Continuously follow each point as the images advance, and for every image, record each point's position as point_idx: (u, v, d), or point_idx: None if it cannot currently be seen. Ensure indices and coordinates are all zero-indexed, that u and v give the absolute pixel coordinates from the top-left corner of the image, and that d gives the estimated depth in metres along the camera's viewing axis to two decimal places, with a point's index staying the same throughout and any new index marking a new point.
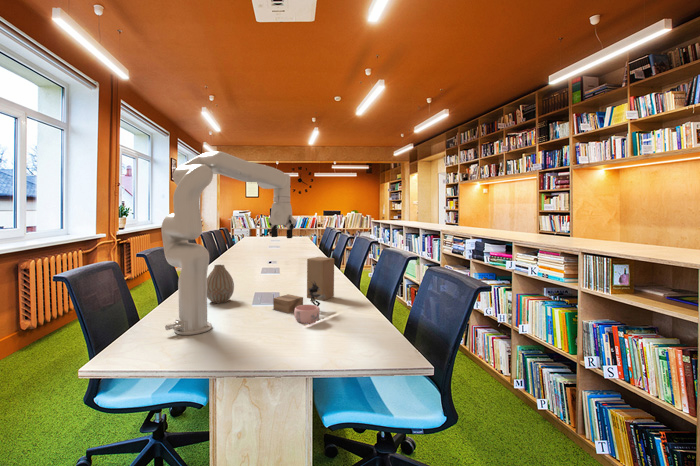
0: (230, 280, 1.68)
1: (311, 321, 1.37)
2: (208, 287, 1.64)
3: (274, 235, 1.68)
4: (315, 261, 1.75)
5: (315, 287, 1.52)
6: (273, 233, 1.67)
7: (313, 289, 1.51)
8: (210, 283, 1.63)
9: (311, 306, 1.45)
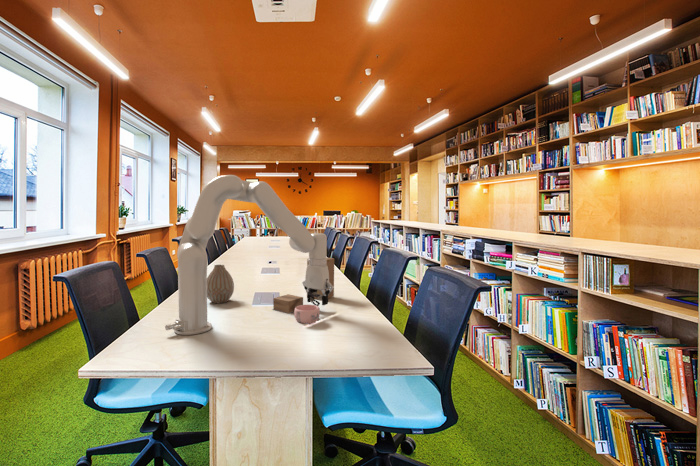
0: (230, 280, 1.68)
1: (311, 321, 1.37)
2: (208, 287, 1.64)
3: None
4: None
5: None
6: (309, 298, 1.54)
7: (313, 289, 1.51)
8: (210, 283, 1.63)
9: (311, 306, 1.45)
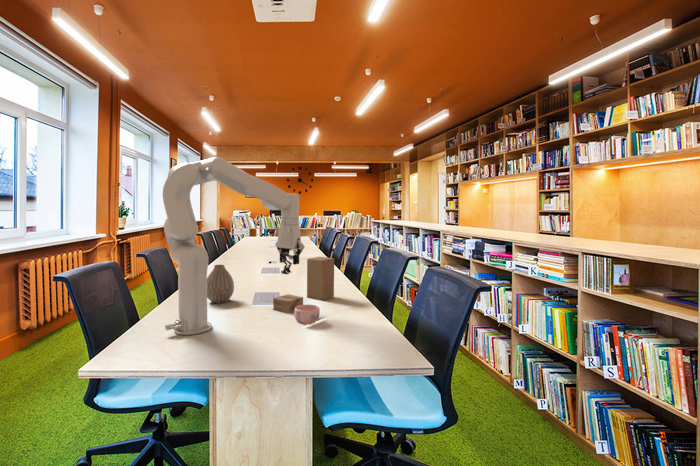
0: (230, 280, 1.68)
1: (311, 321, 1.37)
2: (208, 287, 1.64)
3: None
4: (315, 261, 1.75)
5: None
6: (281, 258, 1.55)
7: (284, 249, 1.53)
8: (210, 283, 1.63)
9: (311, 306, 1.45)
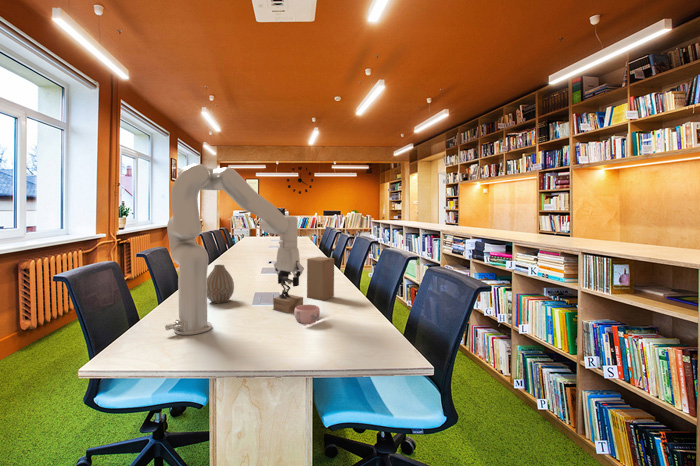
0: (230, 280, 1.68)
1: (311, 321, 1.37)
2: (208, 287, 1.64)
3: None
4: (315, 261, 1.75)
5: (286, 271, 1.55)
6: (280, 279, 1.56)
7: (284, 273, 1.54)
8: (210, 283, 1.63)
9: (311, 306, 1.45)
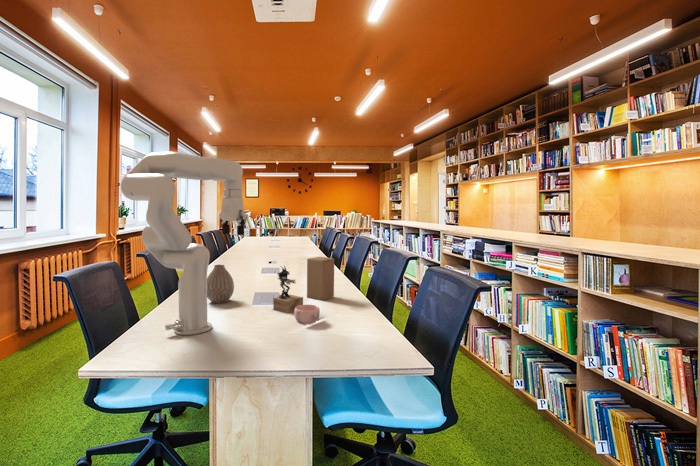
0: (230, 280, 1.68)
1: (311, 321, 1.37)
2: (208, 287, 1.64)
3: (225, 232, 1.55)
4: (315, 261, 1.75)
5: (284, 272, 1.54)
6: (224, 230, 1.54)
7: (282, 273, 1.54)
8: (210, 283, 1.63)
9: (311, 306, 1.45)
